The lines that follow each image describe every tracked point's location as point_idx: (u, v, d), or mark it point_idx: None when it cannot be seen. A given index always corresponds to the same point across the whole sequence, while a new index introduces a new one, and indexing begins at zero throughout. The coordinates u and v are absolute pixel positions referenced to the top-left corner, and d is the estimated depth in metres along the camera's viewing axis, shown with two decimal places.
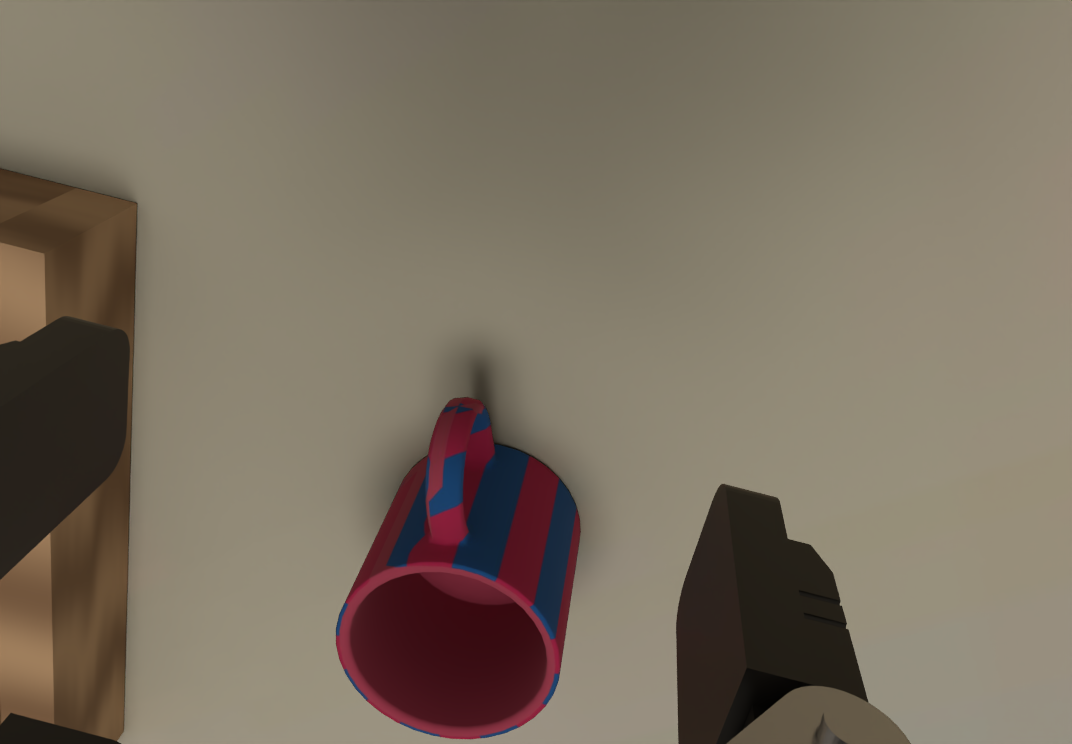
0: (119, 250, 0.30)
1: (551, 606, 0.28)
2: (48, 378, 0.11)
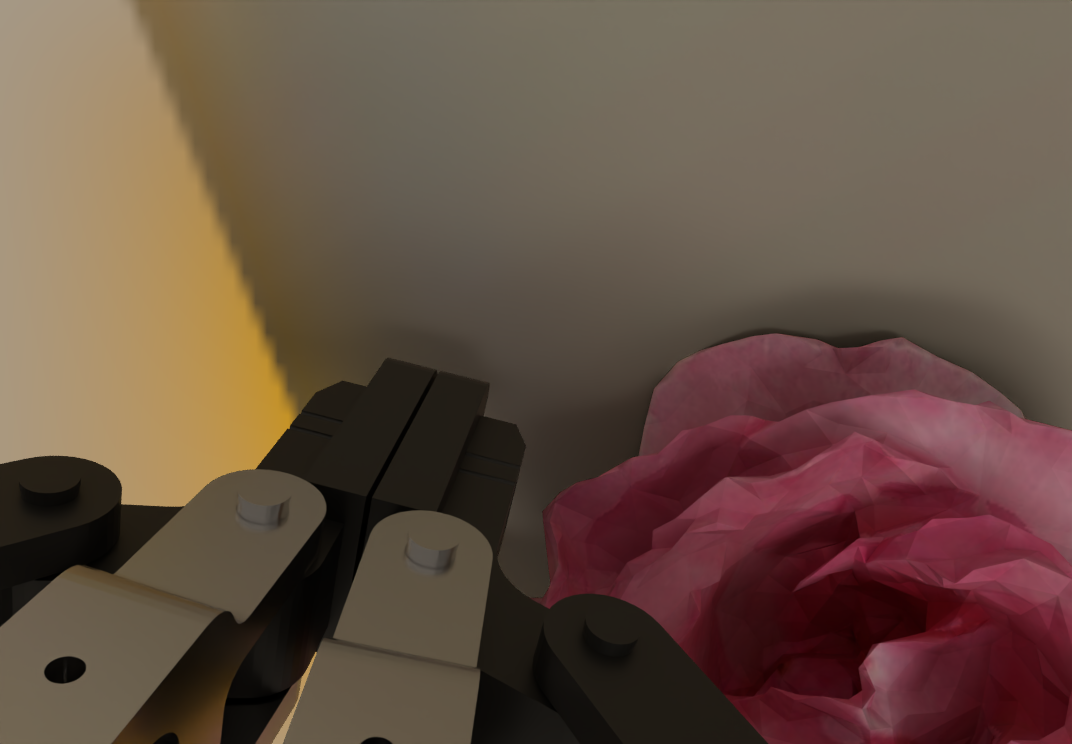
0: None
1: None
2: (408, 420, 0.12)
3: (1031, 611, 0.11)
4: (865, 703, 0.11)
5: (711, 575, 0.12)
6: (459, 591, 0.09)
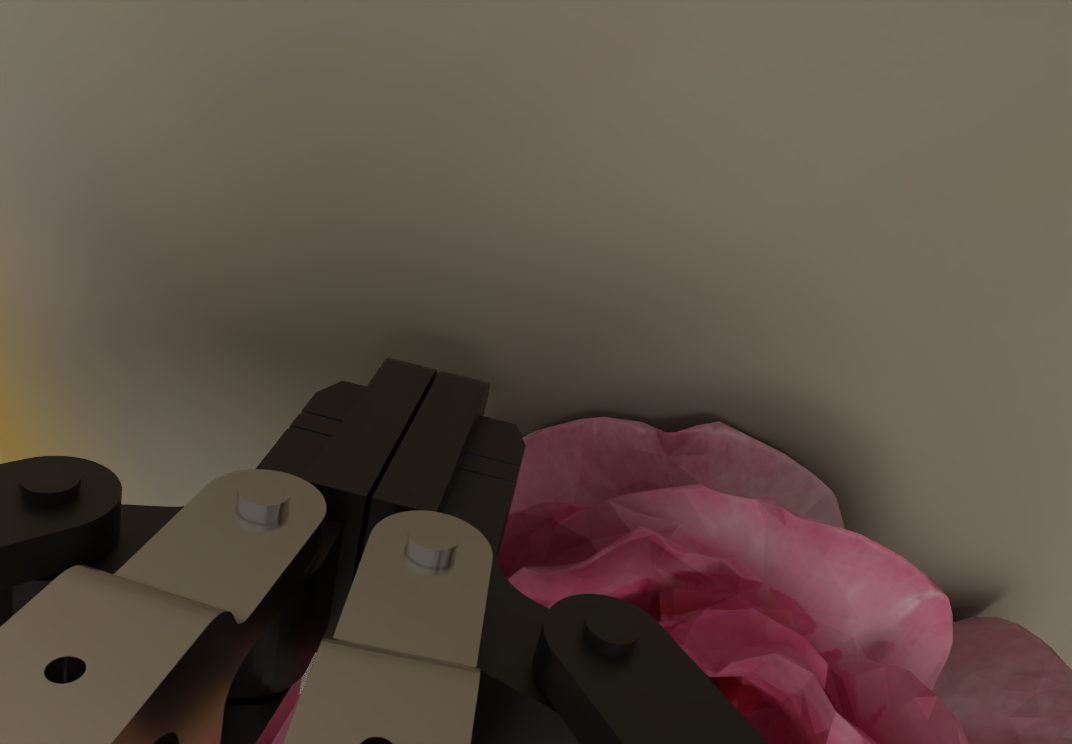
0: None
1: None
2: (407, 420, 0.12)
3: (786, 700, 0.11)
4: None
5: None
6: (459, 591, 0.09)
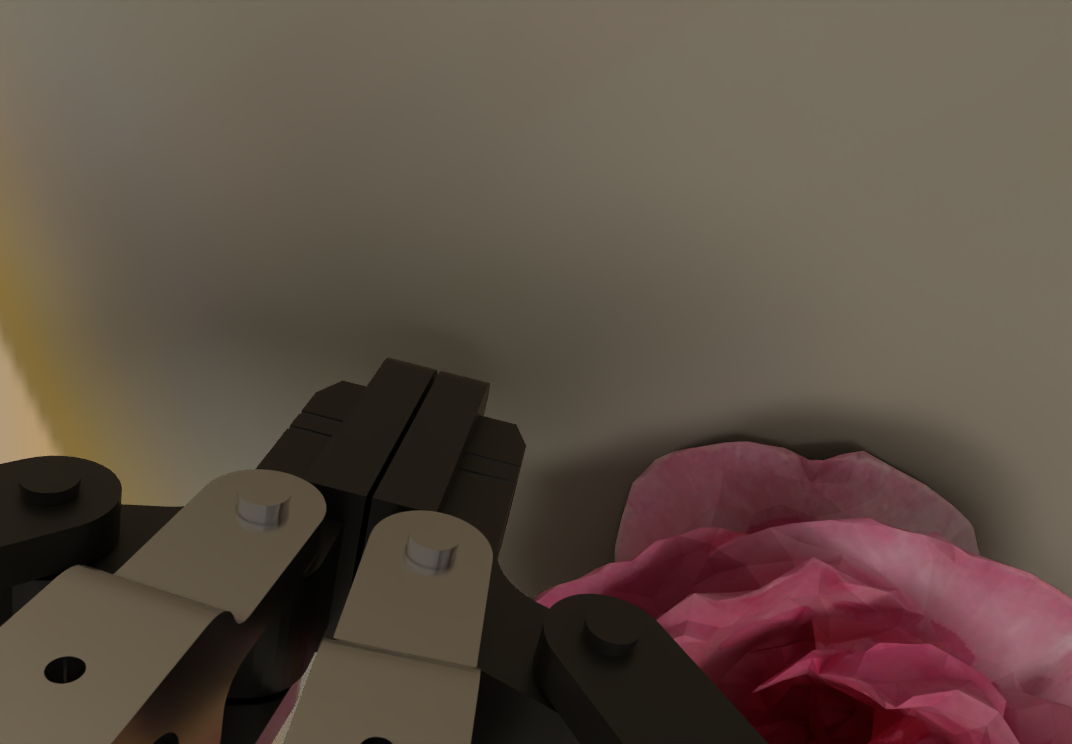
0: None
1: None
2: (408, 419, 0.12)
3: (963, 734, 0.12)
4: None
5: None
6: (459, 591, 0.09)
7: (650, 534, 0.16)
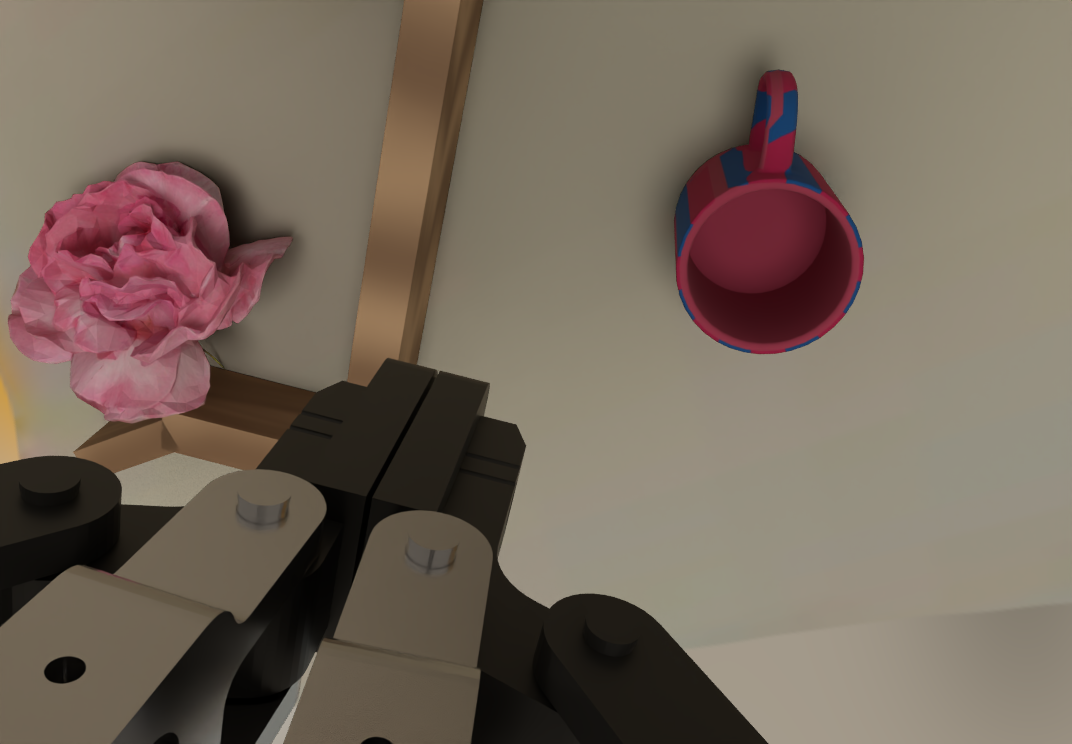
0: None
1: None
2: (408, 420, 0.12)
3: (151, 220, 0.39)
4: (109, 247, 0.39)
5: (88, 224, 0.41)
6: (459, 591, 0.09)
7: None
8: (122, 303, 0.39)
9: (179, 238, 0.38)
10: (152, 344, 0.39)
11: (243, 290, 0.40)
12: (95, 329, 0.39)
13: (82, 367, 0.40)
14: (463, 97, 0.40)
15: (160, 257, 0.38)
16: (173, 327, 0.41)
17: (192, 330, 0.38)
